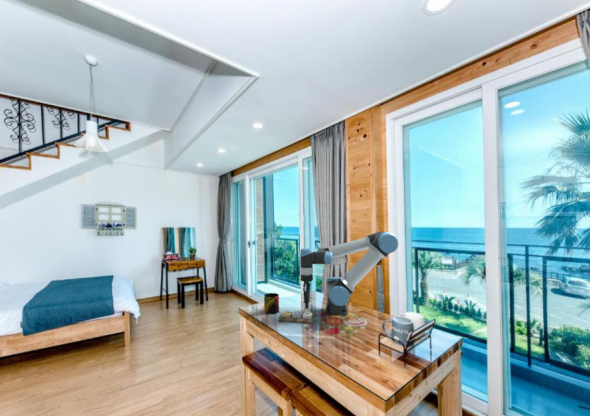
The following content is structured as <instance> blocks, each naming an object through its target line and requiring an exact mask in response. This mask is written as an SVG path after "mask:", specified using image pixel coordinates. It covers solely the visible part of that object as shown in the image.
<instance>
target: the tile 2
mask: <svg viewBox="0 0 590 416" xmlns="http://www.w3.org/2000/svg"><path fill="white" fill-rule="evenodd" d="M312 313H313V312H310V313H309V314H305V311H304V314H303V318H305V319H312Z"/></svg>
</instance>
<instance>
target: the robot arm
mask: <svg viewBox="0 0 590 416" xmlns="http://www.w3.org/2000/svg"><path fill="white" fill-rule="evenodd" d="M398 247H399V239H398V237H397V236H396V235H395V234H394V233H392V232H388V231H383V230H381V231H377V232H374V233H372V234H367V235H366V236H365V237H363V238H360V239H355V240H352V241H351V240H350V241H348V242H342V243H340V244H335V245H332V246H328V247H324V248H318V249H317V250H316V251H314V250H313V248H308V247H304V248H301V249H300V252H299V255H300V256H299V257H300V259H299V260H300V262H299V264H300V268H299V271H300V281H301V282H303V284H302V287H303V288H302V291H303V303H304V312H305V314H309V313H311V311H310V309H311V308H310V302H311V283H310V282H312V281H314V275H313V273H314V266H313V265H331V264H332V263H333V259H335V258H338V257H342V256H347V255H351V254H354V253H355V254H356V253H358V252H362V251H363V252H364V251H366V250H367V251H366V252H365V253H364V254H363V255H362V256H361V258H360V259H359V260H358V261H356V263H355V264H354V265H353V266H352V267H351V268H350V269H349V270H348V272H346V273H345V275H343V277H341V276H330V277H327V278H326V294H327V295H326V304H325V307H324V313H326V314H327V315H329V316H341V317H342V318H343V316H344V317H346V316H348V315H349V309H348V305H347V304H348V303H349V300H350V297H351V295H353V294H354V293H355V288H356V286H357V285H358V284H359V283H360V282H362V280H363V279H364V277H366V275H368V274H369V272H370V271H371V270H372V269H374V267H375V266H376V264H378V263H379V261H381V260H382V259H386V258H387V257H388V256H389V255H390V254H392V253H394V252H396V251H397V249H398Z"/></svg>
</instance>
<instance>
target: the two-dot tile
mask: <svg viewBox="0 0 590 416" xmlns="http://www.w3.org/2000/svg"><path fill="white" fill-rule="evenodd" d="M292 312H293V313H292V318H301V317H302V312H303V311H300V310H293V311H292Z"/></svg>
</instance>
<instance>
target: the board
mask: <svg viewBox="0 0 590 416" xmlns="http://www.w3.org/2000/svg"><path fill="white" fill-rule="evenodd" d="M284 311H285V310H284ZM285 312H289V311H285ZM291 312H292V313H293V311H291ZM304 312H305V311H304ZM304 312H303V311H302V317H301V318H292V315H291V317H290V318H289V317H282V314H281V315H280V316H279V318H278V319H277V322H278V323H287V324H288V323H291V324H301V325H302V324H304V325H305V324H306V325H312V324H313V321H314V319H315V317H316V313H315V312H311V313H312V319H305V318H303V314H304Z"/></svg>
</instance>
